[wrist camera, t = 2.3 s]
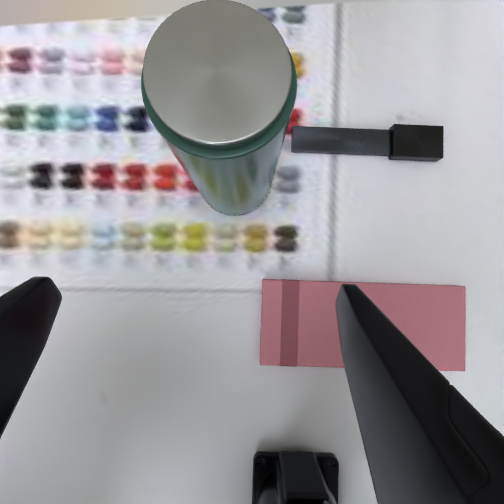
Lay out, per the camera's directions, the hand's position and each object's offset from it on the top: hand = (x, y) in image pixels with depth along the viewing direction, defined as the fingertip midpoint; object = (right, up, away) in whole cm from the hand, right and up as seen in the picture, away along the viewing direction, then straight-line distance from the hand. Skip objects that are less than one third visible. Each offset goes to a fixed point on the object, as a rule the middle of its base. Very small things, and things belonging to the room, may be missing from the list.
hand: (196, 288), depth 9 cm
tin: (0, +7, +14) cm, 16 cm away
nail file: (+11, +10, +14) cm, 21 cm away
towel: (+10, -5, +14) cm, 18 cm away
